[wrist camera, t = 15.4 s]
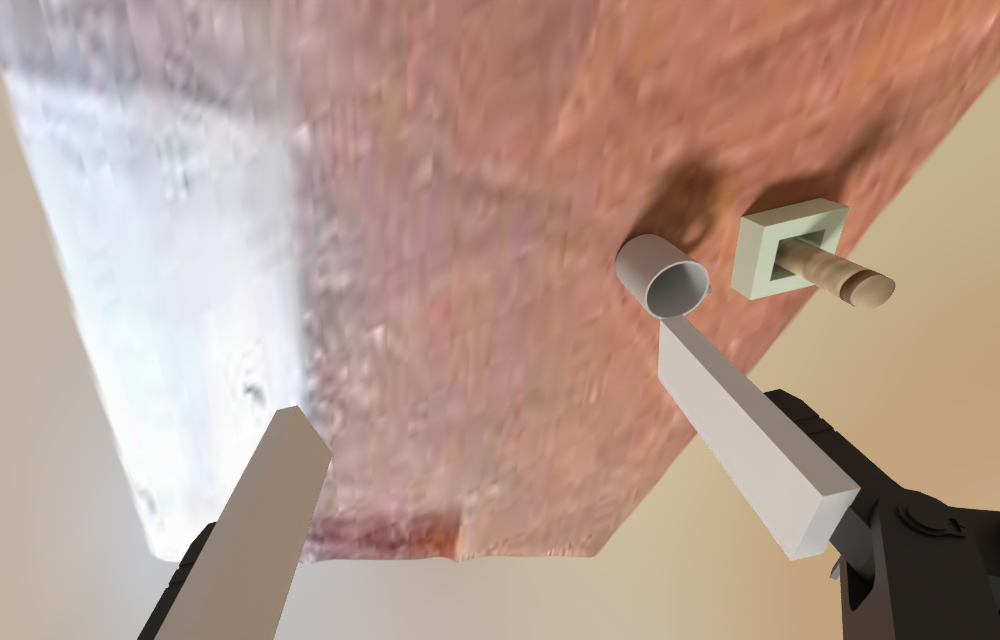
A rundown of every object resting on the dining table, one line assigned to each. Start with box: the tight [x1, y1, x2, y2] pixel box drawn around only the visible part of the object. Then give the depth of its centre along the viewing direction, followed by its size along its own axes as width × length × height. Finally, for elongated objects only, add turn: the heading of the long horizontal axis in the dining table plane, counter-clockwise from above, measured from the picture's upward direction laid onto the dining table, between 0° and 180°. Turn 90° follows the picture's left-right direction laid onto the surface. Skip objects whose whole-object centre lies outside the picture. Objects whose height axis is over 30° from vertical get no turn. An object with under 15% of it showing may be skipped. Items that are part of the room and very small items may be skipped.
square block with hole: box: [730, 198, 850, 300], centre depth 47 cm, size 10×10×4 cm
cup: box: [615, 234, 711, 319], centre depth 44 cm, size 7×10×9 cm
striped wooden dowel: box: [774, 237, 895, 310], centre depth 43 cm, size 4×4×14 cm
